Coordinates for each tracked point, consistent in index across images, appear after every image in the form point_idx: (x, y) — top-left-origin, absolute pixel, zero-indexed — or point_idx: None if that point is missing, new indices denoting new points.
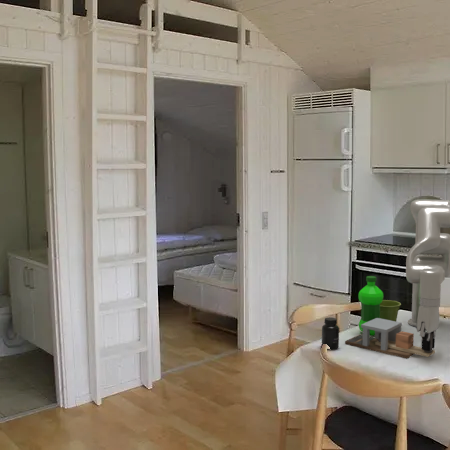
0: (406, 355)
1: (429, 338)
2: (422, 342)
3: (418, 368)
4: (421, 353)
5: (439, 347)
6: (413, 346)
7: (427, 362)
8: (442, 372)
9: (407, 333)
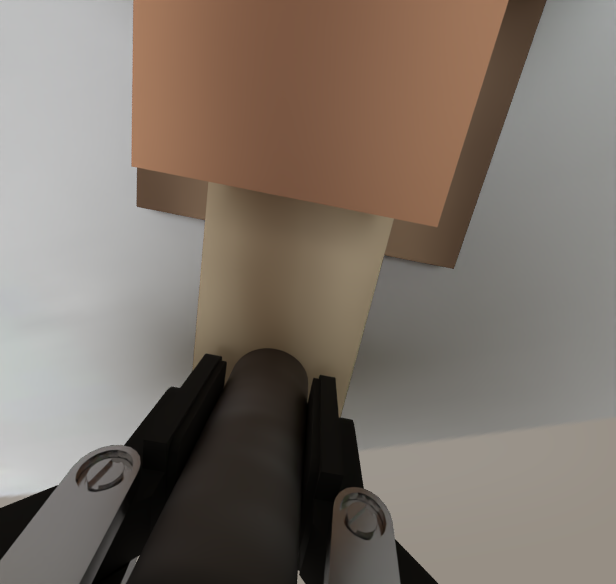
0: (139, 198)
1: (117, 582)
2: (168, 412)
3: (8, 340)
4: (196, 338)
5: (601, 379)
6: (363, 217)
7: (176, 368)
8: (56, 475)
9: (387, 73)
